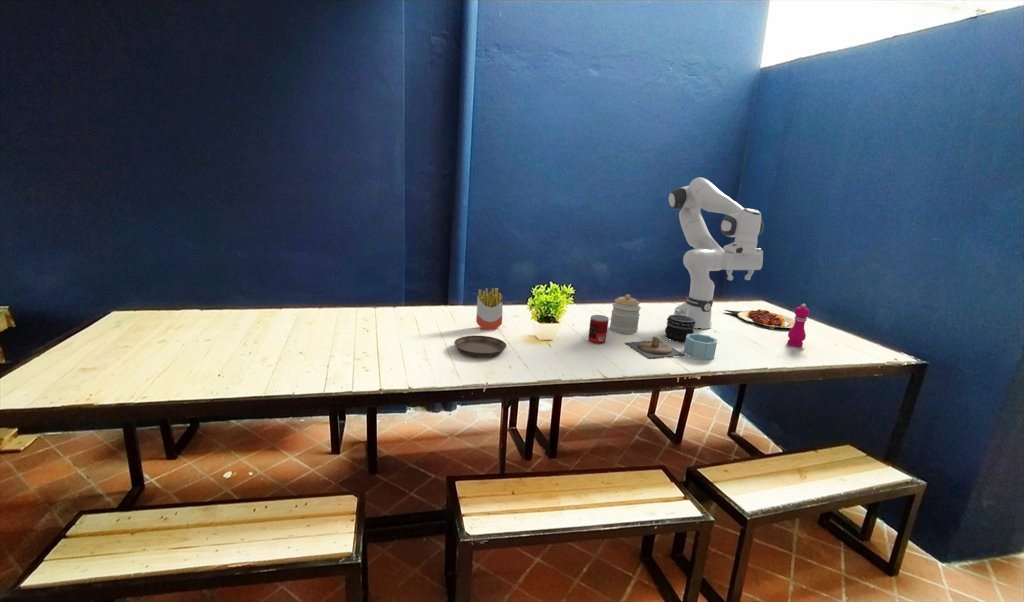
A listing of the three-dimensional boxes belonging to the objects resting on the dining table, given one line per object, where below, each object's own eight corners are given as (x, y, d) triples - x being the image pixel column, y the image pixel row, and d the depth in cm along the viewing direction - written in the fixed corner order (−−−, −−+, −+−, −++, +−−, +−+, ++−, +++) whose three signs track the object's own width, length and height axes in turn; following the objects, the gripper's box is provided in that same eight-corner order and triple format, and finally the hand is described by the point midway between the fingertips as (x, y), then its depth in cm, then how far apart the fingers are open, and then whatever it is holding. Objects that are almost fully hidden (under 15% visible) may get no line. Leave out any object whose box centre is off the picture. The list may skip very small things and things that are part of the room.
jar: (628, 325, 253) (633, 290, 248) (642, 334, 241) (647, 297, 237) (604, 326, 249) (608, 290, 244) (618, 335, 237) (622, 298, 232)
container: (678, 333, 247) (682, 313, 244) (698, 342, 236) (702, 321, 233) (658, 335, 241) (661, 314, 239) (677, 344, 230) (681, 323, 228)
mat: (624, 343, 226) (624, 342, 226) (659, 341, 233) (659, 340, 232) (648, 358, 210) (649, 357, 210) (685, 356, 216) (685, 354, 216)
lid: (631, 343, 225) (633, 332, 223) (658, 341, 230) (659, 331, 229) (650, 355, 212) (652, 344, 211) (678, 353, 217) (680, 342, 216)
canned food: (607, 340, 229) (610, 316, 226) (603, 345, 222) (606, 321, 219) (591, 337, 232) (593, 313, 229) (585, 342, 225) (588, 317, 222)
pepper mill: (805, 348, 238) (815, 306, 233) (788, 346, 239) (798, 304, 234) (800, 343, 245) (809, 302, 240) (784, 341, 246) (793, 300, 241)
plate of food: (720, 310, 294) (723, 298, 292) (782, 317, 293) (785, 305, 291) (742, 328, 264) (745, 315, 262) (810, 336, 263) (814, 324, 261)
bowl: (678, 349, 223) (680, 334, 222) (700, 348, 228) (703, 333, 226) (696, 360, 212) (699, 344, 211) (720, 358, 217) (723, 342, 215)
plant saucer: (471, 338, 219) (472, 331, 219) (515, 349, 210) (515, 341, 209) (443, 352, 202) (443, 344, 201) (489, 365, 193) (489, 356, 192)
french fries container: (501, 329, 233) (504, 290, 228) (478, 330, 230) (480, 290, 225) (499, 326, 237) (501, 288, 232) (475, 326, 234) (478, 288, 229)
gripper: (757, 247, 225) (751, 278, 228) (720, 246, 218) (714, 278, 221) (769, 249, 219) (762, 281, 223) (731, 249, 212) (725, 282, 215)
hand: (738, 280), depth 222 cm, fingers open, 8 cm apart
